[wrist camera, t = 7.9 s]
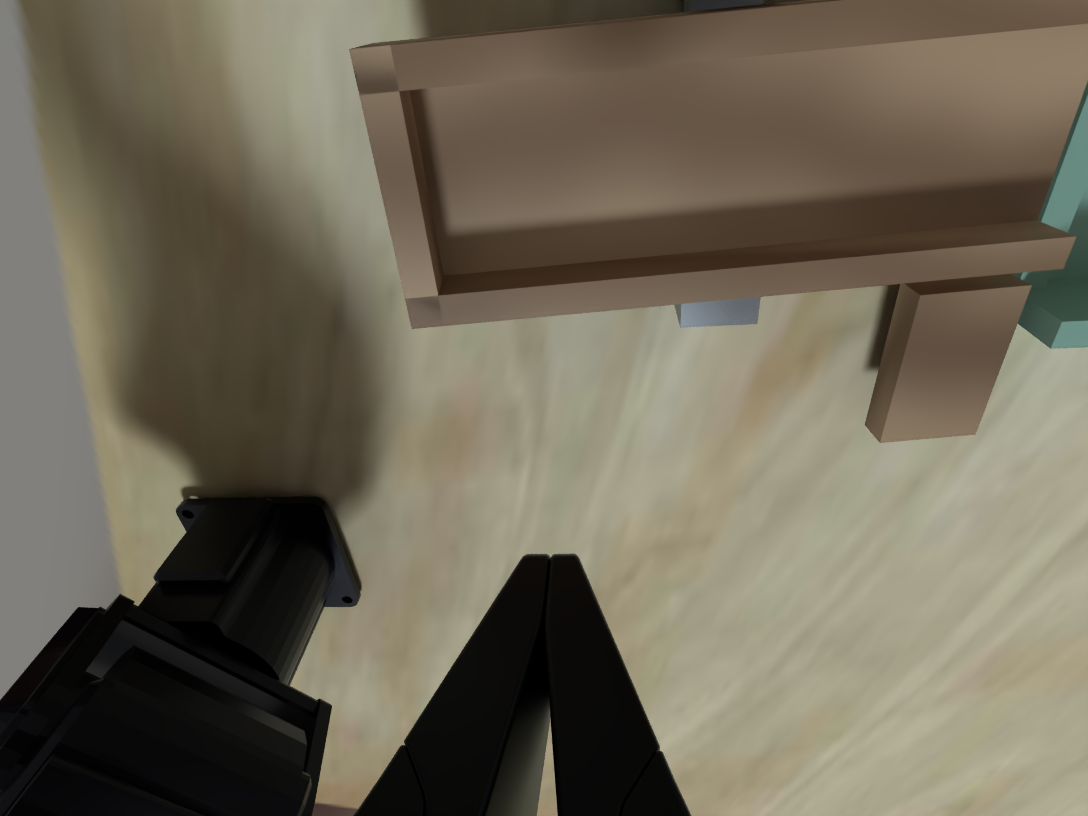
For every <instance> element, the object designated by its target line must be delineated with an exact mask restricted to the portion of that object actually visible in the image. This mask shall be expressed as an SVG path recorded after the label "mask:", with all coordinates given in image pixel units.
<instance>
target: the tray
mask: <svg viewBox="0 0 1088 816" xmlns="http://www.w3.org/2000/svg"><path fill="white" fill-rule="evenodd" d="M1038 221H1040V222H1043V223H1045V224H1048V225H1050V226H1052V227H1055V228H1057V229H1060V230H1062V231H1065V232H1067V233H1069V234H1072V235H1074V236H1076V239H1075V241H1074V244H1073V246H1072V249H1071V251H1070V254H1069V256H1068V259H1067V261H1066V264H1065V266H1064V269H1055V270H1045V271H1034V272H1023V273H1012V275H1014V276H1016V277H1018V278H1020V279H1021V280H1023V281H1025V282H1027V283H1029V284H1031V285H1032V286H1031V289H1030V292H1029V294H1028V297H1027V300H1026V302H1025V305H1024V307H1023V310H1022V313H1021V315H1020V318H1019V321H1018V324H1019V325H1020V326H1022V327H1023V328H1024V329H1026V330H1027V331H1028V332H1030V333H1031V334H1032V335H1034V336H1035V337H1036V338H1038V339H1039V340H1040V341H1041V342H1043V343H1044V344H1045V345H1047V346H1048V347H1049V348H1051V349H1053V348H1078V347H1088V82H1087V85H1086V87H1085V90H1084V93H1083V96H1082V98H1081V101H1080V104H1079V107H1078V109H1077V112H1076V115H1075V118H1074V120H1073V123H1072V126H1071V129H1070V132H1069V134H1068V137H1067V140H1066V143H1065V145H1064V148H1063V151H1062V154H1061V156H1060V159H1059V162H1058V165H1057V167H1056V170H1055V173H1054V176H1053V179H1052V181H1051V184H1050V187H1049V190H1048V192H1047V195H1046V198H1045V201H1044V203H1043V206H1042V209H1041V212H1040V214H1039V217H1038Z"/></svg>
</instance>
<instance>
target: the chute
mask: <svg viewBox="0 0 1088 816" xmlns="http://www.w3.org/2000/svg"><path fill="white" fill-rule="evenodd" d="M349 50H350V55H351V59H352V64H353V68H354V73H355V77H356V82H357V86H358V91H359V95H360V99H361V104H362V108H363V113H364V117H365V122H366V126H367V131H368V135H369V140H370V144H371V149H372V153H373V158H374V162H375V166H376V171H377V175H378V180H379V184H380V189H381V193H382V198H383V202H384V207H385V211H386V216H387V220H388V224H389V229H390V233H391V238H392V242H393V247H394V251H395V256H396V260H397V265H398V269H399V274H400V278H401V283H402V287H403V291H404V296H405V300H406V305H407V309H408V314H409V318H410V323H411V327H412V329H415V328H426V327H437V326H448V325H459V324H469V323H480V322H491V321H502V320H513V319H524V318H535V317H545V316H556V315H567V314H578V313H589V312H600V311H610V310H621V309H632V308H643V307H654V306H665V305H676V304H686V303H697V302H708V301H719V300H730V299H741V298H752V297H762V296H773V295H784V294H795V293H806V292H817V291H827V290H838V289H849V288H860V287H871V286H882V285H893V284H900V288H899V292H898V296H897V300H896V304H895V308H894V311H893V315H892V319H891V323H890V327H889V331H888V335H887V339H886V343H885V347H884V351H883V355H882V359H881V363H880V367H879V371H878V375H877V379H876V383H875V387H874V391H873V395H872V399H871V403H870V406H869V410H868V414H867V418H866V422H865V426H866V427H867V428H868V429H869V430H870V432H871V433H872V434H873V435H874V436H875V438H876V439H877V440H878V441H879V442H880V443H884V442H895V441H907V440H918V439H929V438H940V437H952V436H963V435H974V434H976V432H977V429H978V426H979V424H980V421H981V418H982V416H983V413H984V410H985V408H986V405H987V403H988V400H989V397H990V395H991V392H992V389H993V387H994V384H995V381H996V379H997V376H998V373H999V371H1000V368H1001V366H1002V363H1003V360H1004V358H1005V355H1006V352H1007V350H1008V347H1009V344H1010V342H1011V339H1012V337H1013V334H1014V331H1015V329H1016V326H1017V323H1018V321H1019V318H1020V315H1021V313H1022V310H1023V307H1024V305H1025V302H1026V300H1027V297H1028V294H1029V292H1030V289H1031V286H1032V285H1031V284H1029V283H1027V282H1025V281H1023V280H1021V279H1020V278H1018V277H1016V276H1014V275H1012V273H1023V272H1034V271H1045V270H1055V269H1064V266H1065V264H1066V261H1067V259H1068V256H1069V254H1070V251H1071V249H1072V246H1073V244H1074V241H1075V239H1076V236H1074V235H1072V234H1069V233H1067V232H1065V231H1062V230H1060V229H1057V228H1055V227H1052V226H1050V225H1048V224H1045V223H1043V222H1040V221H1038V217H1039V214H1040V212H1041V209H1042V206H1043V203H1044V201H1045V198H1046V195H1047V192H1048V190H1049V187H1050V184H1051V181H1052V179H1053V176H1054V173H1055V170H1056V167H1057V165H1058V162H1059V159H1060V156H1061V154H1062V151H1063V148H1064V145H1065V143H1066V140H1067V137H1068V134H1069V132H1070V129H1071V126H1072V123H1073V120H1074V118H1075V115H1076V112H1077V109H1078V107H1079V104H1080V101H1081V98H1082V96H1083V93H1084V90H1085V87H1086V85H1087V82H1088V0H803V1H793V2H783V3H772V4H762V5H752V6H742V7H732V8H722V9H712V10H702V11H692V12H682V13H672V14H662V15H652V16H642V17H632V18H621V19H611V20H601V21H591V22H581V23H571V24H561V25H551V26H541V27H531V28H521V29H511V30H501V31H491V32H481V33H470V34H460V35H450V36H440V37H430V38H420V39H410V40H400V41H390V42H380V43H372V44H368V45H364V46H360V47H356V48H352V49H349Z"/></svg>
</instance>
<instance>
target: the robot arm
mask: <svg viewBox="0 0 1088 816" xmlns="http://www.w3.org/2000/svg"><path fill="white" fill-rule="evenodd" d="M313 508H315V509H316V510H315V509H313ZM176 513H177V516H178V517H179V519H180V521H181V523H182V524H183V526H184V528H185V530H186V534H185V535H184V536H183V538H182V539H181V540H180V541H179V543H178V544H177V545H176V547H175V548H174V549H173V551H172V552H171V553H170V555H169V556H168V557H167V559H166V560H165V561H164V563H163V564H162V565H161V567H160V568H159V569H158V570H157V572H156V573H155V575H154V580H155V581H156V583H155V585H154V586H153V587H152V589H151V590H150V591H149V593H148V594H147V595H146V597H145V598H144V599H143V601H142V602H141V604H140V605H139V606H136V605H134V602H135V601H133V600H131V599H129V598H127V597H125V596H123V595H122V594H120V595H119V596H118V597H117V598H116V599H115V600H114V601H113V602H112V603H111V604H110V605H109V607H108V608H107V609H103V608H102V607H99V608H85V607H78V608H77V609H76V610H75V612H74V613H73V614H72V615H71V616H70V617H69V619H68V620H67V621H66V622H65V623H64V625H63V626H62V627H61V628H60V629H59V630H58V632H57V633H56V634H55V635H54V636H53V638H52V639H51V640H50V641H49V642H48V643H47V645H46V646H45V647H44V648H43V650H42V651H41V652H40V653H39V654H38V655H37V657H36V658H35V659H34V660H33V661H32V662H31V664H30V665H29V666H28V667H27V669H26V670H25V671H24V672H23V673H22V674H21V676H20V677H19V678H18V679H17V681H16V682H15V683H14V684H13V685H12V686H11V688H10V689H9V690H8V691H7V693H6V694H5V695H4V696H3V697H2V699H1V700H0V816H311V815H312V812H313V807H314V803H315V798H316V793H317V787H318V782H319V776H320V771H321V765H322V759H323V754H324V748H325V743H326V737H327V731H328V726H329V720H330V715H331V709H332V705H331V704H329V703H327V702H325V701H323V700H321V699H318V700H316V699H314V698H312V697H310V696H308V695H306V694H304V693H302V692H300V691H298V690H297V689H295V688H293V687H291V686H290V684H291V681H292V679H293V677H294V675H295V672H296V670H297V668H298V666H299V663H300V661H301V659H302V656H303V654H304V652H305V650H306V647H307V645H308V643H309V640H310V638H311V636H312V634H313V631H314V629H315V627H316V625H317V622H318V620H319V618H320V615H321V613H322V611H323V609H324V607H352V606H355V605H357V603H358V601H359V598H360V596H361V594H360V590H359V588H358V585H357V582H356V580H355V577H354V574H353V572H352V569H351V566H350V564H349V561H348V558H347V556H346V553H345V550H344V548H343V545H342V542H341V540H340V537H339V534H338V532H337V529H336V526H335V524H334V521H333V518H332V516H331V513H330V510H329V508H328V505H327V503H326V502H325V501H324V500H322V499H321V498H318V497H267V498H216V499H186V500H184V501H182V502H181V504H180V505H179V506H178V507H177V509H176ZM550 718H551V731H552V744H553V758H554V771H555V784H556V797H557V811H558V816H691V814H690V812H689V810H688V808H687V805H686V803H685V801H684V799H683V797H682V795H681V793H680V790H679V788H678V786H677V784H676V782H675V780H674V777H673V775H672V773H671V770H670V768H669V766H668V764H667V761H666V759H665V757H664V754H663V752H662V751H660V746H659V743H658V741H657V739H656V736H655V734H654V732H653V729H652V727H651V725H650V722H649V720H648V718H647V715H646V713H645V711H644V708H643V706H642V704H641V701H640V699H639V697H638V694H637V692H636V690H635V687H634V685H633V683H632V680H631V678H630V676H629V673H628V671H627V669H626V666H625V664H624V662H623V659H622V657H621V655H620V652H619V650H618V648H617V645H616V643H615V641H614V638H613V636H612V634H611V631H610V629H609V627H608V624H607V622H606V620H605V617H604V615H603V613H602V610H601V608H600V606H599V603H598V601H597V599H596V596H595V594H594V592H593V589H592V587H591V585H590V582H589V580H588V578H587V575H586V573H585V571H584V568H583V566H582V564H581V562H580V559H579V557H578V556H577V555H576V554H554V555H552V557H550V556H549V555H547V554H527V555H525V556H523V557H522V559H521V560H520V562H519V563H518V565H517V566H516V568H515V569H514V571H513V572H512V574H511V576H510V577H509V579H508V580H507V582H506V583H505V585H504V586H503V588H502V590H501V591H500V593H499V594H498V596H497V597H496V599H495V600H494V602H493V603H492V605H491V607H490V608H489V610H488V611H487V613H486V614H485V616H484V617H483V619H482V621H481V622H480V624H479V625H478V627H477V628H476V630H475V631H474V633H473V635H472V636H471V638H470V639H469V641H468V642H467V644H466V645H465V647H464V649H463V650H462V652H461V653H460V655H459V656H458V658H457V659H456V661H455V663H454V664H453V666H452V667H451V669H450V670H449V672H448V673H447V675H446V676H445V678H444V680H443V681H442V683H441V684H440V686H439V687H438V689H437V690H436V692H435V694H434V695H433V697H432V698H431V700H430V701H429V703H428V704H427V706H426V708H425V709H424V711H423V712H422V714H421V715H420V717H419V718H418V720H417V722H416V723H415V725H414V726H413V728H412V729H411V731H410V732H409V734H408V735H407V737H406V739H405V741H404V743H405V745H402V746H400V747H399V749H398V751H397V752H396V754H395V755H394V757H393V758H392V760H391V762H390V763H389V765H388V766H387V768H386V769H385V771H384V772H383V774H382V775H381V777H380V778H379V780H378V781H377V783H376V784H375V786H374V787H373V788H372V790H371V791H370V793H369V794H368V796H367V797H366V799H365V800H364V802H363V803H362V805H361V806H360V807H359V809H358V810H357V812H356V813H355V814H354V815H353V816H537V809H538V802H539V794H540V787H541V780H542V773H543V766H544V759H545V751H546V744H547V737H548V730H549V723H550Z"/></svg>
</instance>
